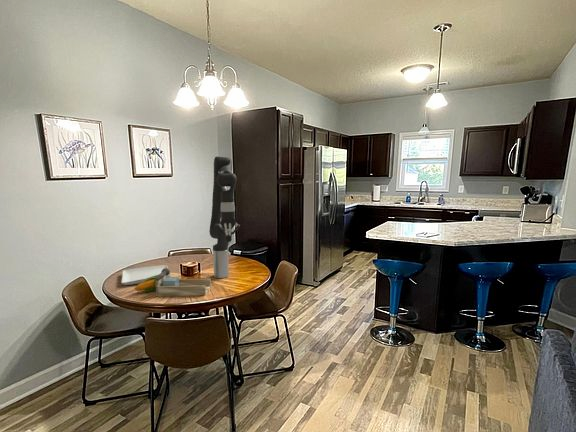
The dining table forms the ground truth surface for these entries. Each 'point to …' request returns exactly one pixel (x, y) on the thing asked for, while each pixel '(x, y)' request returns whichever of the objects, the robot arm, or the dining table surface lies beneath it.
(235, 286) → the dining table surface
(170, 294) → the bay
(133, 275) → the square plate
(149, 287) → the corn
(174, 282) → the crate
